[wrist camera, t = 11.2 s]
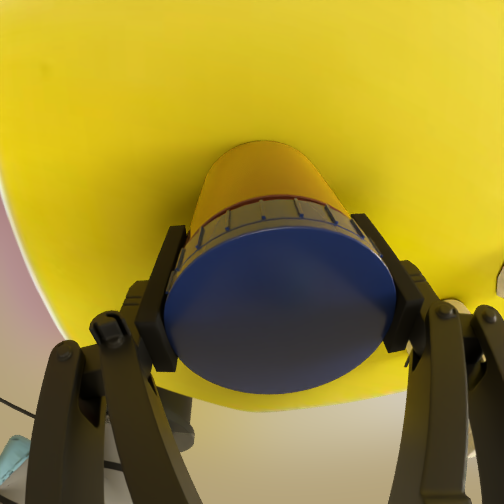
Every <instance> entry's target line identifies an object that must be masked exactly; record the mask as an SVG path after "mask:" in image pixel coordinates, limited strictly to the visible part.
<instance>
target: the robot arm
mask: <svg viewBox="0 0 504 504" xmlns="http://www.w3.org/2000/svg"><path fill="white" fill-rule="evenodd" d="M351 218H353V219H354V220H355V222H356V223H357V225H358V226H359V227H360V228H361V229H362V231H363V232H364V233H365V234H366V236H367V237H371V239H372V240H373V242H374V243H375V245H376V246H377V248H378V249H379V251H380V252H381V254H382V255H383V257H382V260H383V261H384V263H385V264H386V266H387V268H388V270H389V272H390V274H391V276H392V278H393V282H394V285H395V290H396V309H395V314H394V317H393V321H392V323H391V326H390V329H389V331H388V333H387V334H386V336H385V338H384V339H383V342H384V344H385V347H386V349H387V351H388V353H391V352H396V351H401V350H405V348H406V346H407V343H408V341H410V343H411V345H412V350H411V352H410V354H409V356H408V358H407V361H406V363H405V366H404V367H407V366H408V363H409V375H408V387H407V398H406V408H405V416H404V424H403V431H402V438H401V444H400V450H399V456H398V461H397V466H396V471H395V476H394V480H393V485H392V489H391V493H390V497H389V501H388V504H472V502H471V499H470V498H469V497H467V496H466V495H465V480H466V470H467V456H468V431H469V422H470V427H471V431H472V436H473V441H474V446H475V452H476V457H477V463H478V470H479V477H480V485H481V494H482V504H504V321H503V319H502V317H501V315H500V314H499V312H498V311H497V310H496V309H494V308H493V307H491V306H488V305H480V306H478V307H477V308H476V310H475V312H474V314H464V313H459V312H458V310H457V309H456V308H455V307H454V306H453V305H452V304H450V303H448V302H445V301H440V299H439V298H438V296H437V295H436V293H435V292H434V291H433V289H432V288H431V286H430V285H429V283H428V282H427V281H426V279H425V278H424V276H423V275H422V273H421V272H420V271H419V269H418V268H417V267H416V266H415V265H414V264H412V263H411V262H410V261H408V260H405V261H399V259H398V258H397V256H396V255H395V254H394V252H393V251H392V249H391V248H390V247H389V245H388V244H387V243H386V241H385V240H384V238H383V237H382V236H381V234H380V233H379V232H378V230H377V229H376V228H375V226H374V225H373V224H372V222H371V221H370V220H369V219H368V217H367V216H366V215H365V214H351ZM186 238H187V234H186V228H185V225H181V226H170V228H169V230H168V233H167V235H166V238H165V240H164V243H163V245H162V248H161V250H160V253H159V255H158V258H157V260H156V263H155V265H154V268H153V271H152V273H151V276H150V279H149V280H145V281H136V282H135V283H134V284H133V285H132V286H131V287H130V288H129V291H128V293H127V295H126V299H125V300H124V303H123V306H122V307H121V310H120V312H118V311H112V310H111V311H105V312H103V313H101V314H99V315H97V316H96V317H95V318H94V319H93V320H92V322H91V323H90V327H89V330H90V332H91V334H92V335H93V337H94V339H95V341H96V342H97V344H95V345H91V346H86V347H82V348H80V347H79V345H78V343H77V342H75V341H73V340H66V341H62V342H61V343H59V344H57V345H56V346H55V347H54V348H53V350H52V352H51V354H50V357H49V361H48V364H47V368H46V371H45V375H44V379H43V383H42V387H41V392H40V396H39V400H38V405H37V411H36V415H34V414H31V413H29V412H28V411H26V410H23V409H21V408H19V407H17V406H15V405H13V404H11V403H9V402H7V401H6V400H3V399H2V398H0V402H2V403H4V404H6V405H8V406H10V407H12V408H13V409H15V410H18V411H20V412H22V413H24V414H26V415H28V416H30V417H32V418H34V419H35V420H34V426H33V431H32V438H31V440H29V439H27V438H25V437H23V436H20V435H14V436H12V437H11V438H10V439H9V441H8V443H7V445H6V446H5V448H4V450H3V452H2V454H1V456H0V504H203V503H202V501H201V499H200V497H199V495H198V493H197V491H196V488H195V486H194V484H193V482H192V480H191V478H190V475H189V473H188V471H187V468H186V466H185V464H184V462H183V459H182V457H181V454H180V452H179V449H178V447H177V444H176V442H175V439H174V436H173V434H172V431H171V428H170V426H169V423H168V420H167V418H166V415H165V412H164V409H163V406H162V403H161V400H160V397H159V394H158V391H157V388H156V385H155V382H154V379H153V377H152V375H151V373H150V372H151V368H152V363H153V365H154V367H155V369H156V371H157V372H175V371H176V365H177V359H178V357H177V355H176V354H175V352H174V351H173V349H172V348H171V345H170V343H169V340H168V337H167V335H166V332H165V328H164V307H165V302H166V298H167V295H168V294H165V293H166V289H167V286H168V282H169V279H170V276H171V272H172V271H174V270H175V267H176V264H177V261H178V258H179V255H180V251H181V249H182V248H184V245H185V242H186ZM483 354H484V356H485V359H486V361H484V359H483V357H482V356H483ZM106 404H107V407H108V412H106Z"/></svg>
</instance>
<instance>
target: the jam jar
mask: <svg viewBox="0 0 504 504" xmlns="http://www.w3.org/2000/svg"><path fill="white" fill-rule="evenodd" d="M294 198H297V199H298V200H301V201H308V202H313V203H316V204H320V205H323V206H325V205H329V207H330V208H331V209H333V210H335V211H338V212H340V213H341V214H343V215H344V216H346V217H347V218H349V219H351V216H350V215H349V214H348V212H347V211H346V209H345V208H344V206H343V205H342V204H341V202H340V201H339V199H338V198H337V197H336V195H335V194H334V192H333V191H332V190H331V188H330V187H329V185H328V184H327V183H326V181H325V180H324V179H323V177H322V176H321V175H320V173H319V172H318V171H317V169H316V168H315V167H314V165H313V164H312V163H311V161H310V160H309V159H308V158H307V157H306V156H305V155H303V154H302V153H301V152H299V151H298V150H296V149H294V148H292V147H291V146H288V145H285V144H283V143H279V142H274V141H254V142H248V143H245V144H242V145H239V146H237V147H235V148H233V149H231V150H229V151H228V152H226V153H225V154H224V155H222V156H221V157H220V158H219V159H218V160H217V161H216V162H215V163H214V164H213V166H212V167H211V169H210V170H209V172H208V174H207V176H206V178H205V181H204V184H203V187H202V190H201V193H200V196H199V199H198V202H197V206H196V209H195V212H194V215H193V218H192V222H191V225H190V228H189V231H188V235H187V238H186V242H185V245H184V248H185V247H186V246H187V244H188V243H189V242H190V240H191V239H192V238H193V237H194V236H195V235H196V234H197V233H198V232H199V228H200V227H201V226H202V227H205V226H206V225H207V224H209V223H210V222H211V221H213V220H214V219H216V218H218V217H220V216H221V215H223V214H225V213H226V211H227V210H230V211H231V210H234V209H236V208H239V207H242V206H244V205H248V204H252V203H256V202H259V200H263V201H268V200H277V199H285V200H294Z"/></svg>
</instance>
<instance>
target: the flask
mask: <svg viewBox="0 0 504 504" xmlns="http://www.w3.org/2000/svg"><path fill="white" fill-rule="evenodd" d="M497 295H498V296H500V297H502V298H504V267H503V269H502V271H501V273H500V275H499V277H498V283H497Z"/></svg>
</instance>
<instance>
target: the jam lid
mask: <svg viewBox="0 0 504 504" xmlns="http://www.w3.org/2000/svg"><path fill="white" fill-rule="evenodd" d="M382 257H383V255H382V254H381V252H380V251H379V249H378V248H377V246H376V245H375V243H374V242H373V240H372V239H371V237H367V236H366V234H365V233H364V232H363V231H362V229H361V228H360V227H359V226H358V225H357V223H356V222H355V220H354V219H353V218H351V219H349V218H347V217H346V216H344V215H343V214H341V213H340V212H338V211H335V210H333V209H331V208H330V207H329V205H325V206H323V205H320V204H316V203H313V202H308V201H301V200H298V199H297V198H294V200H285V199H277V200H268V201H263V200H259V202H256V203H252V204H248V205H244V206H242V207H239V208H236V209H234V210H231V211H230V210H227V211H226V213H225V214H223V215H221V216H220V217H218V218H216V219H214V220H213V221H211V222H210V223H209V224H207V225H206V226H205V227H202V226H201V227H200V228H199V232H198V233H197V234H196V235H195V236H194V237H193V238H192V239H191V240H190V242H189V243H188V244H187V246H186V247H185V248H182V249H181V251H180V255H179V258H178V261H177V264H176V267H175V270H174V271H172V272H171V276H170V279H169V282H168V286H167V289H166V293H165V294H168V295H167V298H166V302H165V307H164V328H165V332H166V335H167V337H168V340H169V343H170V345H171V348H172V349H173V351H174V352H175V354H176V355H177V357H178V358H179V359H180V360H181V361H182V362H183V363H184V364H185V365H186V366H187V367H188V368H189V369H191V370H192V371H193V372H194V373H196V374H197V375H199V376H200V377H202V378H204V379H206V380H208V381H210V382H212V383H214V384H216V385H219V386H222V387H225V388H228V389H231V390H235V391H240V392H245V393H254V394H284V393H292V392H298V391H303V390H307V389H311V388H314V387H318V386H320V385H323V384H326V383H328V382H331V381H333V380H335V379H337V378H339V377H341V376H343V375H345V374H346V373H348V372H350V371H351V370H353V369H354V368H356V367H357V366H358V365H360V364H361V363H362V362H363V361H365V360H366V359H367V358H368V357H369V356H370V355H371V354H372V353H373V352H374V351H375V350H376V349H377V347H378V346H379V345H380V343H381V342H382V341H383V339H384V338H385V336H386V334H387V333H388V331H389V329H390V326H391V323H392V321H393V317H394V314H395V309H396V290H395V285H394V282H393V278H392V276H391V274H390V272H389V270H388V268H387V266H386V264H385V263H384V261H383V260H382Z"/></svg>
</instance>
